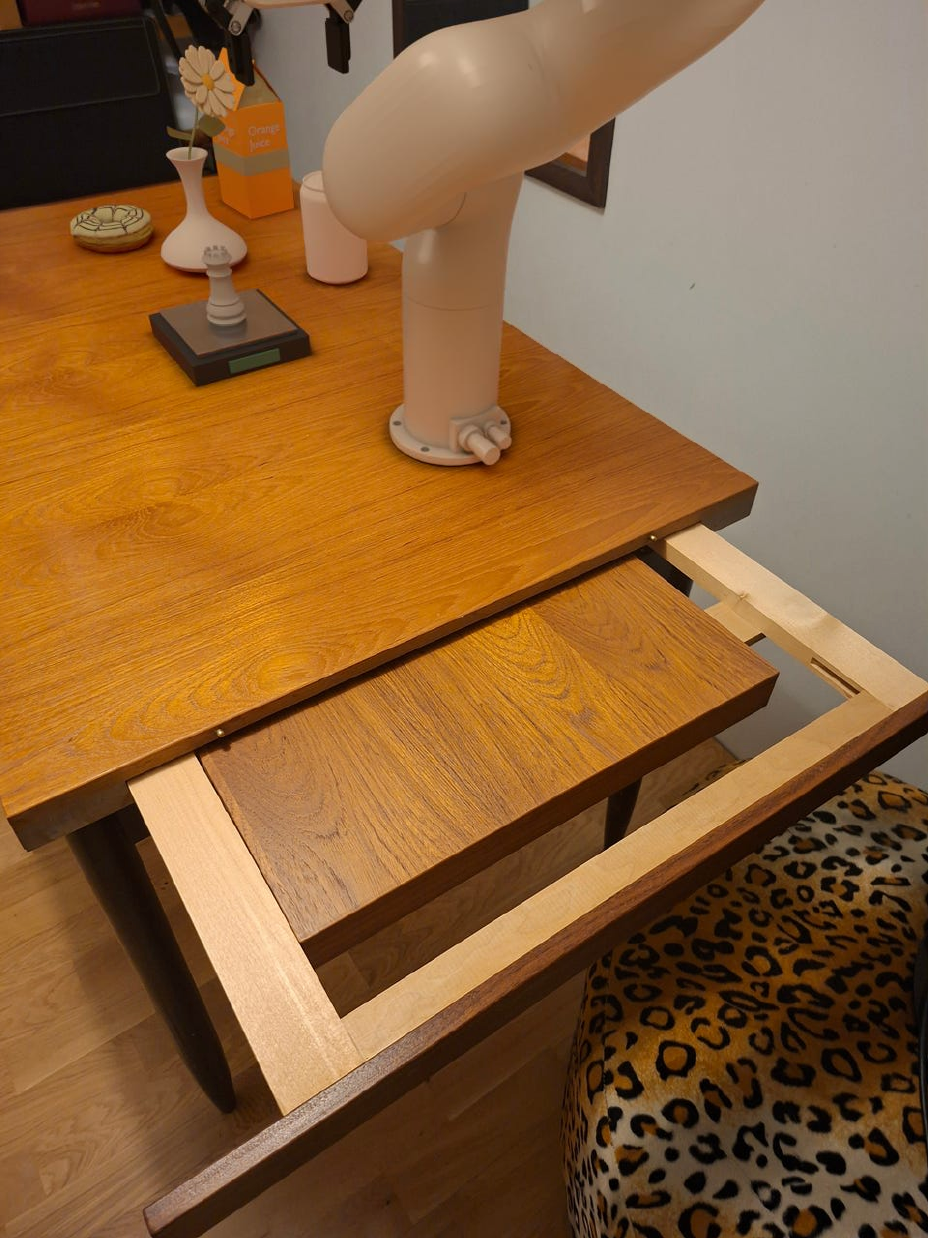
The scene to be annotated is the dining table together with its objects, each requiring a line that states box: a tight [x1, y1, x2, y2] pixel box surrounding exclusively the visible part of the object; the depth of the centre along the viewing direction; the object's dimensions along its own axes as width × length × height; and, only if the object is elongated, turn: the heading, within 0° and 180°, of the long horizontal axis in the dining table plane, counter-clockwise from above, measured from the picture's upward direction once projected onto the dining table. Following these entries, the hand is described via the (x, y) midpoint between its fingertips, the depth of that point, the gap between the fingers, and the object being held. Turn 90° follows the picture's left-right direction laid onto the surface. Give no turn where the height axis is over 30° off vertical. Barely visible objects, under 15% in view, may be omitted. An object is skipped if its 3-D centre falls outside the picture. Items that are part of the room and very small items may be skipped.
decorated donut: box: [69, 204, 154, 253], centre depth 121 cm, size 10×11×4 cm
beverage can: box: [299, 170, 369, 285], centre depth 113 cm, size 8×8×12 cm
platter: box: [158, 287, 297, 360], centre depth 101 cm, size 12×12×1 cm
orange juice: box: [211, 46, 295, 220], centre depth 126 cm, size 8×9×20 cm
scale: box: [148, 288, 312, 387], centre depth 102 cm, size 14×14×2 cm
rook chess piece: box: [202, 245, 246, 327], centre depth 97 cm, size 4×4×8 cm
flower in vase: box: [160, 44, 248, 273], centre depth 110 cm, size 13×11×25 cm
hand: (292, 76), depth 82 cm, fingers open, 9 cm apart
